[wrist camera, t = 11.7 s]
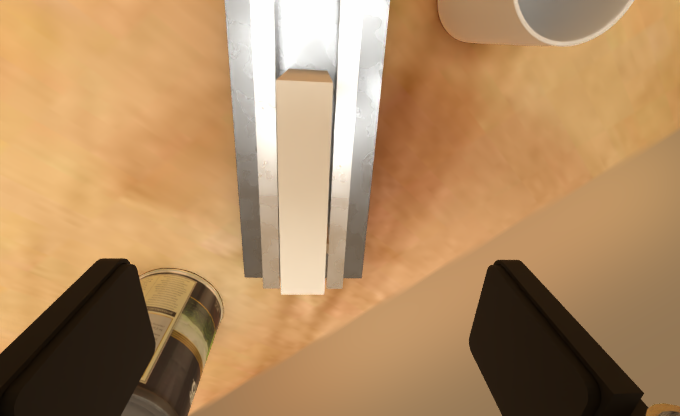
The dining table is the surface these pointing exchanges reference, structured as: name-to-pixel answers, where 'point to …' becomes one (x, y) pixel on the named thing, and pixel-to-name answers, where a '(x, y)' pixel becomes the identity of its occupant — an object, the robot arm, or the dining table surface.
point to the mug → (530, 20)
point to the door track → (346, 128)
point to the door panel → (303, 177)
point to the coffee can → (175, 341)
